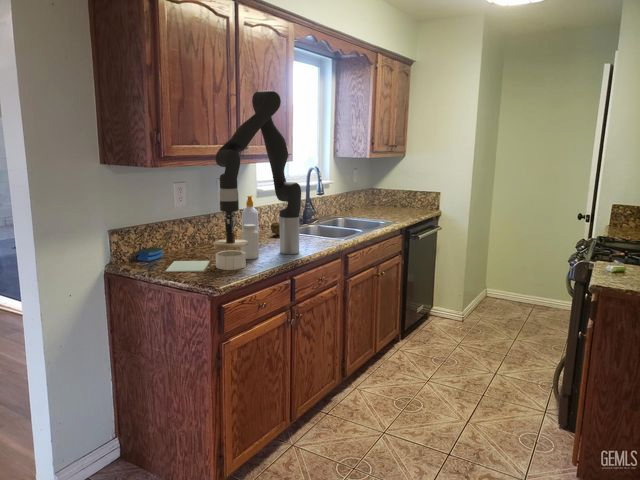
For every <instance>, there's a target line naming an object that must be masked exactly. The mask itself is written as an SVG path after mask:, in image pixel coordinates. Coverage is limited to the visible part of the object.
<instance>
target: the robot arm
mask: <svg viewBox="0 0 640 480" xmlns="http://www.w3.org/2000/svg"><path fill="white" fill-rule="evenodd" d="M251 99H252V100H251V103H252V107H253V111H254V114H253V115H252V116H251V117H250V118H248V119H247V120H245V121H244V122H243V123H242V124H241V125H240V126H239V127H238V128H237V129H236V131H235V132H234V133H233V135H232V136H231V137H230V139H229V140H228V141H227V142H226V143H224V144H223V145H222V146H221V147H220V148H219V149H218V151H217V152H216V154H215V159H214V160H215V162H216V165H218V167H221V168H224V173H222V174H220V175H219V209H220V212H223V213H225V215H224V227H225V233H226V232H227V242H232V241H233V230H235V224H236V223H235V220H236V215H235V214H234V213H235V212H238V211H239V210H240V205H239V204H240V202H239V190H238V178H239V177H238V176H239V172H240V167H241V156H240V154H239V153H240V152H244V150H245V149H246V148H247V147H248V145H250V143H251V142H252V140H253V139H254V137H255V136H256V134H257V133H258V132H259V131H260V130H261V134H262V138H263V142H264V146H265V149H266V154H267V158H268V161H269V165H270V170H271V173H272V180H273V186H274V193H275V197H276V198H277V200H278V201H280V202H286V203H287V206H286V207H285V208H283V209H280V210H279V223H280V236H279V253H280V254H283V255H296V254H300V212H301V205H302V189H301V188H302V187H301V185H300V184H299V183H298V182H293V181H287V180H286V177H285V168H286V165H287V162H288V158H289V150H288V147H287V142H286V140H285V136H283V134H282V133H281V131H280V130H279V129H278V127H277V125H276V124H275V122H274V120H273V116H274V115H275V114H276V112H277V111H278V110H279V109H280V108H281V105H282V104H281V103H282V102H281V101H282V100H281V96H280V94H279V93H278V92H277V91H275V90H257V91H255V92H254V93H253V95H252V98H251Z"/></svg>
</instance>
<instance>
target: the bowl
mask: <svg viewBox="0 0 640 480" xmlns="http://www.w3.org/2000/svg"><path fill="white" fill-rule="evenodd" d="M246 260H247V259H246V253H245V252H243V251H241V250H222V251H218V252H216V253H215V268H217V269H218V270H224V271H235V270H236V271H237V270H241V269H244V268H246V267H247V265H246V264H247V261H246Z"/></svg>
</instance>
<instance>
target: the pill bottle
mask: <svg viewBox="0 0 640 480" xmlns="http://www.w3.org/2000/svg"><path fill="white" fill-rule="evenodd" d="M255 228H256V225H254V224H245V225H244V231H242V230H241V232H240V239H241V240H246V241H248V245H247V246H244V247H240V251H243V252H245V253H246V260H256V259H258V258H259V256H260V249H259V248H260V246H259V245H260V243H259V242H260V239H259V238H260V237H259V236H260V235H259V231H258V232H257V231H256V230H255Z"/></svg>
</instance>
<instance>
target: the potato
mask: <svg viewBox="0 0 640 480" xmlns="http://www.w3.org/2000/svg"><path fill="white" fill-rule="evenodd" d="M270 230H271V233H272V234H275V235H277V236H279V237H280V222H272V223H271V225H270Z"/></svg>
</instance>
